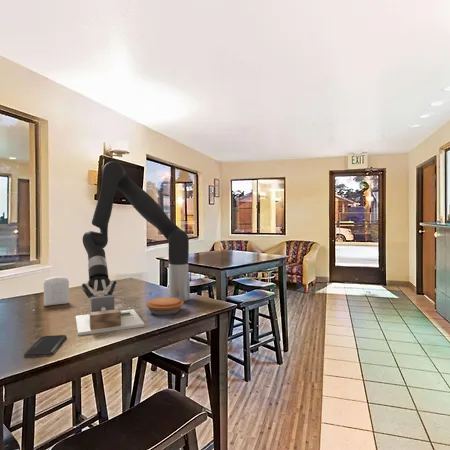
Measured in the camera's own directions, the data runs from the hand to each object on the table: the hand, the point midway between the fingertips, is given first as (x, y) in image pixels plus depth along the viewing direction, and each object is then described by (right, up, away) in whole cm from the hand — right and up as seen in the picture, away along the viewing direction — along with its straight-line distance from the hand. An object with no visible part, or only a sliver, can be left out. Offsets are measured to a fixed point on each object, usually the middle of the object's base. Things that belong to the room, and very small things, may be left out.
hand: (101, 305), depth 133 cm
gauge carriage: (+6, -4, -5) cm, 8 cm away
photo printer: (-28, -5, +21) cm, 35 cm away
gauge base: (+5, -5, -5) cm, 8 cm away
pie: (+23, -5, +10) cm, 26 cm away
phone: (-6, -7, -28) cm, 30 cm away
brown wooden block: (+6, -5, -12) cm, 15 cm away
